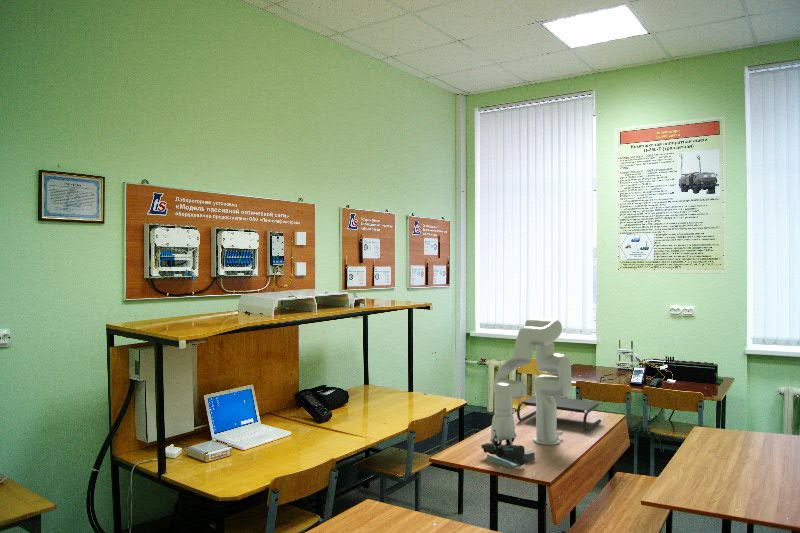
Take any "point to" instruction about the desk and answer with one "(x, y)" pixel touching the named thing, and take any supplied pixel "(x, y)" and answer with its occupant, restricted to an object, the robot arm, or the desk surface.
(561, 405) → the monitor stand
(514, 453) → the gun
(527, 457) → the block
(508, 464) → the cradle tray
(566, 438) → the desk surface
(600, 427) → the desk surface
